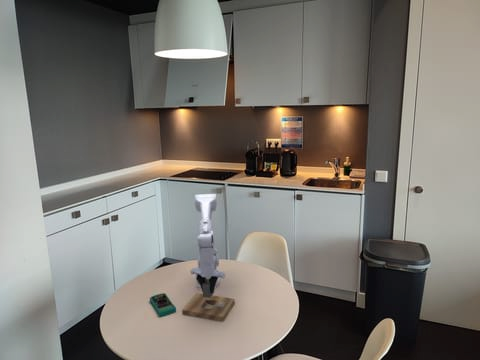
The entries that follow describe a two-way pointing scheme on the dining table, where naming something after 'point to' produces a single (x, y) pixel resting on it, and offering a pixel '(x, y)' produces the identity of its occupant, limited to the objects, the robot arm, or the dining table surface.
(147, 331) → the dining table surface
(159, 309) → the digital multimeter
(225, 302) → the socket board
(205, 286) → the grey block
